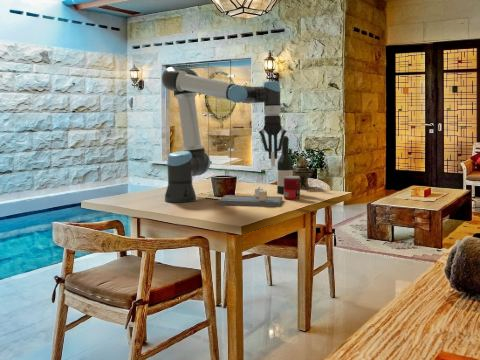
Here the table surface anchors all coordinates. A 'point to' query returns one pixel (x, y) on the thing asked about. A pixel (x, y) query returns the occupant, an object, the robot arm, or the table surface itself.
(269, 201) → the console
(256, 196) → the fader
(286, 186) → the canned food
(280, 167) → the wine bottle
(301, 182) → the potted plant
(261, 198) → the fader
